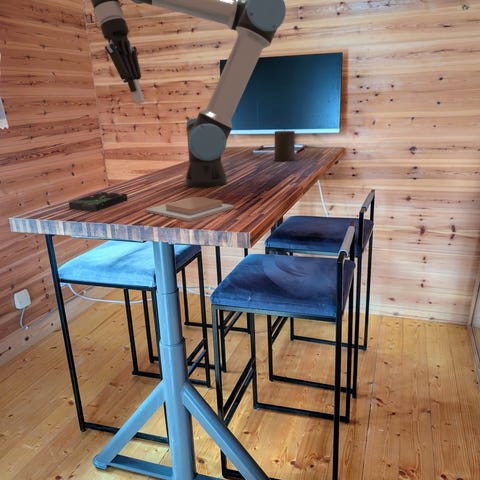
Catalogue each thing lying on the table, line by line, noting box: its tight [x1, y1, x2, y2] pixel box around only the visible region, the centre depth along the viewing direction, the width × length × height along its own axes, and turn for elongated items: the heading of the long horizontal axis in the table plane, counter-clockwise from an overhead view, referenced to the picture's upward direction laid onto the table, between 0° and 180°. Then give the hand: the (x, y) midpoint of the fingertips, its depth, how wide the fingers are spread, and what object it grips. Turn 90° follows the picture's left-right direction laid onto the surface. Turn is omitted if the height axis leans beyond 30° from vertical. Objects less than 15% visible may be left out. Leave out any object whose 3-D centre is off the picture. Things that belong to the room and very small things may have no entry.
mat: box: [145, 197, 234, 222], centre depth 125 cm, size 17×18×1 cm
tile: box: [165, 196, 223, 215], centre depth 123 cm, size 12×2×10 cm
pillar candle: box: [274, 128, 296, 162], centre depth 213 cm, size 10×10×15 cm
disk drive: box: [68, 191, 128, 212], centre depth 135 cm, size 10×3×15 cm
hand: (140, 102), depth 134 cm, fingers closed
